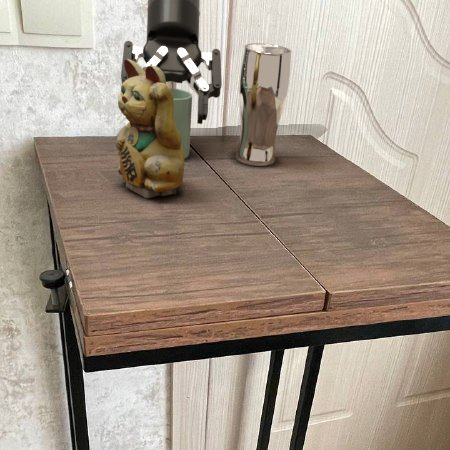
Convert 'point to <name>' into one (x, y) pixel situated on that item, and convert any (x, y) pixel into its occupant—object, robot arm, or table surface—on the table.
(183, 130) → the cup
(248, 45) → the beer glass
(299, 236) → the table surface
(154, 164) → the decorative figurine
